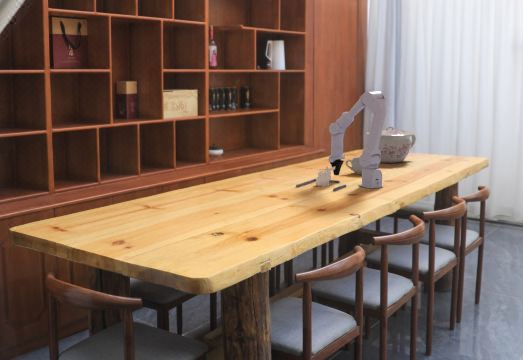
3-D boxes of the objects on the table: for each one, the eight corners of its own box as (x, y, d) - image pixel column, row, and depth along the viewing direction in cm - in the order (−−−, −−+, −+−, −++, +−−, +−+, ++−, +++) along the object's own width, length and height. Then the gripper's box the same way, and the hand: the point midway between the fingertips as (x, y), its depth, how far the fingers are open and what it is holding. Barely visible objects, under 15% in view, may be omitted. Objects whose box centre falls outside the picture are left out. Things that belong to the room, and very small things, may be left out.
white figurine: (328, 182, 319) (328, 162, 317) (340, 184, 314) (340, 164, 312) (311, 186, 311) (311, 166, 309) (324, 188, 306) (324, 167, 304)
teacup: (371, 172, 349) (371, 157, 348) (372, 175, 339) (373, 160, 337) (345, 171, 351) (345, 157, 349) (345, 175, 340) (345, 159, 339)
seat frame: (353, 184, 314) (353, 182, 314) (335, 191, 297) (335, 189, 297) (315, 180, 325) (315, 178, 325) (295, 187, 307) (295, 185, 307)
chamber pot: (362, 163, 378) (362, 127, 374) (368, 157, 404) (369, 123, 400) (411, 165, 370) (413, 129, 366) (415, 159, 396) (416, 124, 392)
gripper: (335, 145, 327) (335, 172, 329) (322, 148, 315) (322, 176, 317) (348, 146, 323) (348, 173, 326) (336, 149, 311) (335, 177, 313)
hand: (336, 175), depth 321 cm, fingers closed
